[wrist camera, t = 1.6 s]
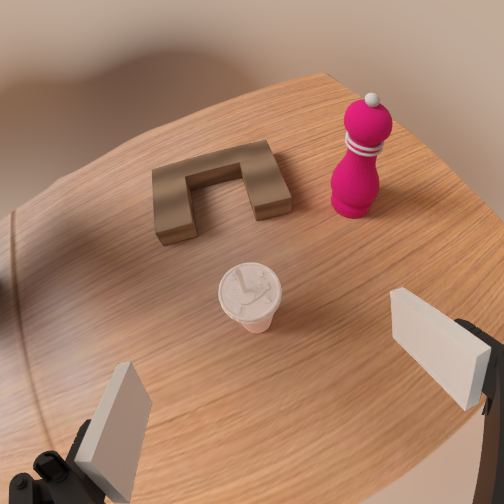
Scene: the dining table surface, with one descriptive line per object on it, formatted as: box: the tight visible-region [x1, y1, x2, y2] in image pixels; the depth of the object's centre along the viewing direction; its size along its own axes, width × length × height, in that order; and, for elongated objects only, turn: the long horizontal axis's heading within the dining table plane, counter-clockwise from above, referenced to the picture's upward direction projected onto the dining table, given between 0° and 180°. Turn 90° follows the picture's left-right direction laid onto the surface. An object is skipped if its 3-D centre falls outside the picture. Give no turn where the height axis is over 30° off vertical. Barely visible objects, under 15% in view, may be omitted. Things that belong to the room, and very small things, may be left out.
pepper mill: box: [331, 93, 392, 218], centre depth 38 cm, size 7×7×20 cm
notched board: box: [152, 140, 292, 246], centre depth 48 cm, size 14×20×4 cm
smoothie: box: [218, 262, 282, 333], centre depth 33 cm, size 6×6×14 cm
